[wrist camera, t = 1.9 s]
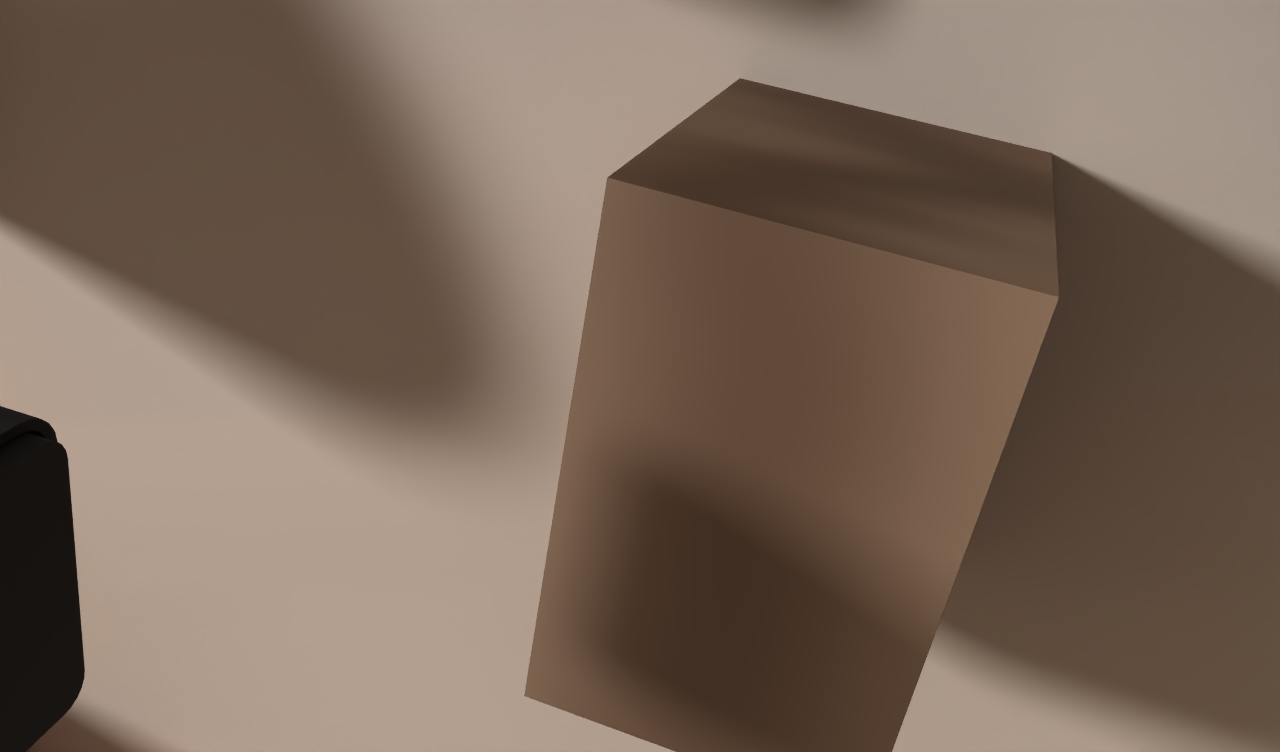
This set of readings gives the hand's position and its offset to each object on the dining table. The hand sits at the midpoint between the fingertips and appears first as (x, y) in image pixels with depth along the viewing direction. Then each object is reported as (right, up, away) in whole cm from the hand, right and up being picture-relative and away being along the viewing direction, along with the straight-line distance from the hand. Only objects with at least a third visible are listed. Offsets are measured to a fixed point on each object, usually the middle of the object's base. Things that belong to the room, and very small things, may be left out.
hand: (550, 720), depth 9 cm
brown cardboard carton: (+4, +4, +8) cm, 10 cm away
